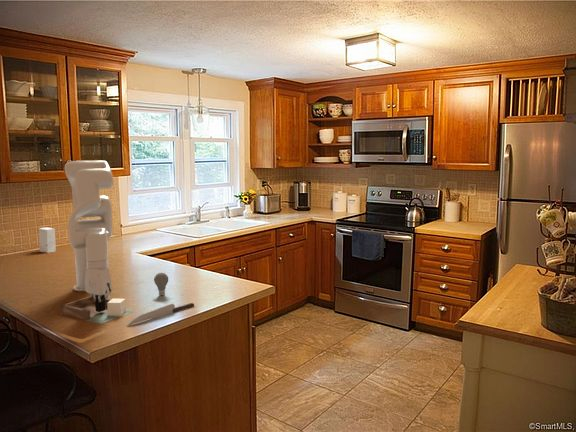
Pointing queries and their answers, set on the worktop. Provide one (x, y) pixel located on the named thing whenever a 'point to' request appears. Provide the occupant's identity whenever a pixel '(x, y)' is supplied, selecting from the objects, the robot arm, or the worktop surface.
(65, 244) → the worktop surface
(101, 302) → the robot arm
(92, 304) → the walnut cubby
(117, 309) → the cream block
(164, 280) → the light bulb
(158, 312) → the kitchen knife
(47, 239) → the skincare box
